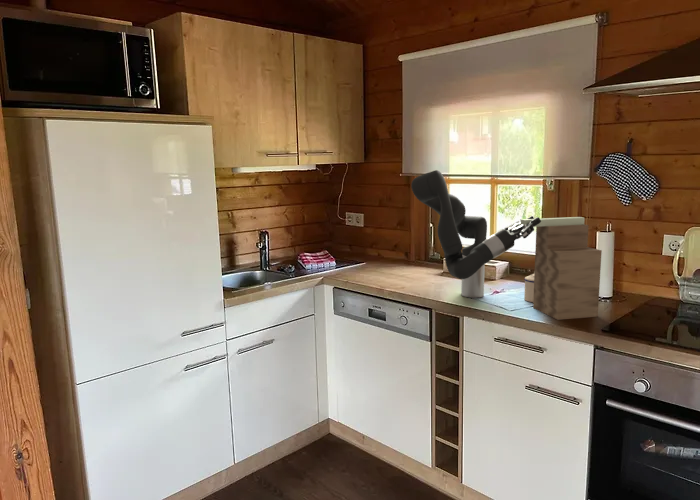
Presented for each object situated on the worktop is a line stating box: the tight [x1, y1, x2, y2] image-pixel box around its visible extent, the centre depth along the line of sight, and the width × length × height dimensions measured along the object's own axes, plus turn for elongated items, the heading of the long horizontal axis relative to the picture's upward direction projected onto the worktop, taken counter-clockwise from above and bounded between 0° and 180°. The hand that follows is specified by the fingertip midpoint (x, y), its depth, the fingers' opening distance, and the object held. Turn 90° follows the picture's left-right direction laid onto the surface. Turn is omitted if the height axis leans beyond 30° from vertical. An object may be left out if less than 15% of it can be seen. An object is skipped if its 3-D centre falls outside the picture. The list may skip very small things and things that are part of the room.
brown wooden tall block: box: [532, 224, 603, 320], centre depth 194 cm, size 16×16×32 cm
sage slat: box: [519, 216, 586, 228], centre depth 194 cm, size 3×24×2 cm, turn 101°
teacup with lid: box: [523, 271, 535, 303], centre depth 214 cm, size 12×9×12 cm
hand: (536, 218), depth 192 cm, fingers open, 3 cm apart
